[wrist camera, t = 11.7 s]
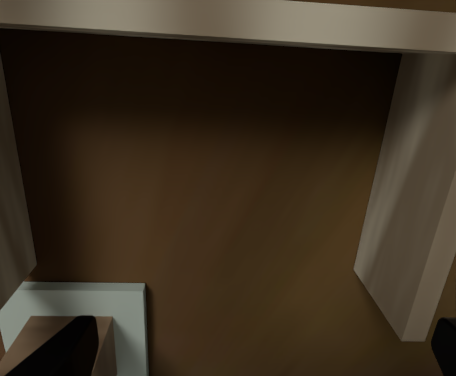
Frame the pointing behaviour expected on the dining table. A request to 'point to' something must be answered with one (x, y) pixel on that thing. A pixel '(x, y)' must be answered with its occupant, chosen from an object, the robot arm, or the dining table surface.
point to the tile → (86, 305)
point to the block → (47, 327)
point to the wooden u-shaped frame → (312, 38)
